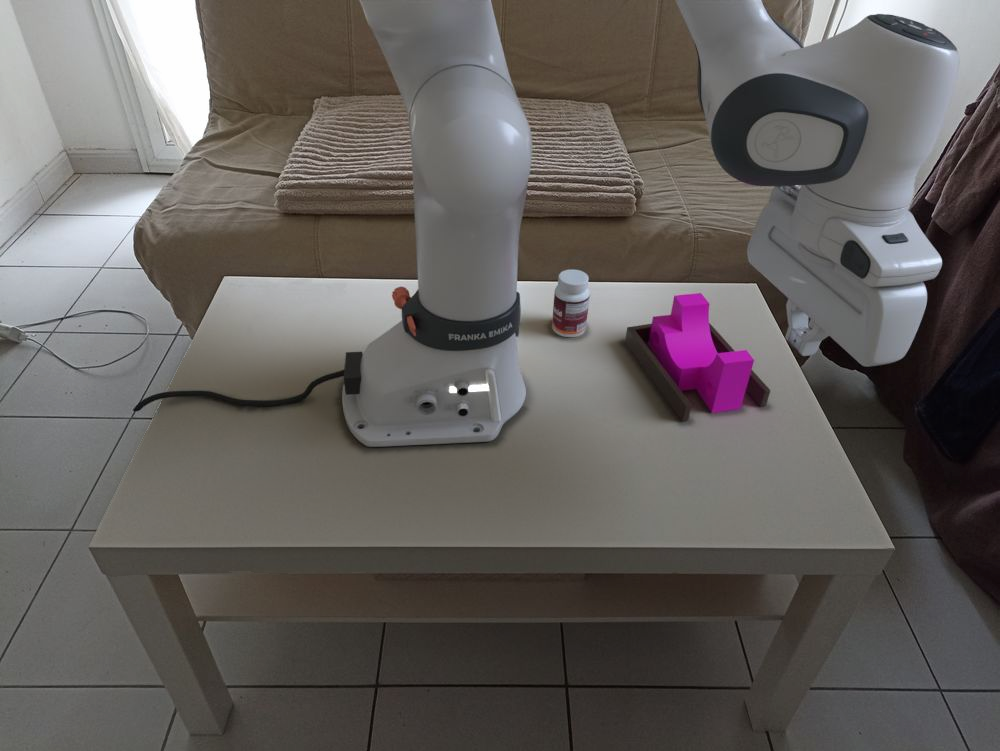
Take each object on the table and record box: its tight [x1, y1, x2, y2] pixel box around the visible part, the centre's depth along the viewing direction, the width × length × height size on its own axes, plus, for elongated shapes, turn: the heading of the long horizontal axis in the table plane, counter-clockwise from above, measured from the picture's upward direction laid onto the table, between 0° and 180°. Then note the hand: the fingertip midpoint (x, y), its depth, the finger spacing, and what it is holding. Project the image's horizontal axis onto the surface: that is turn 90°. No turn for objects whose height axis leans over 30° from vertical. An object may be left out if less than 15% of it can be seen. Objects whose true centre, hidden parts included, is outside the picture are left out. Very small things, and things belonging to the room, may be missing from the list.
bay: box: [624, 322, 771, 422], centre depth 97 cm, size 11×17×2 cm
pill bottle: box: [551, 268, 591, 338], centre depth 102 cm, size 5×5×8 cm
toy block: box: [647, 292, 755, 414], centre depth 95 cm, size 15×6×8 cm, turn 12°
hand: (799, 347), depth 75 cm, fingers closed
